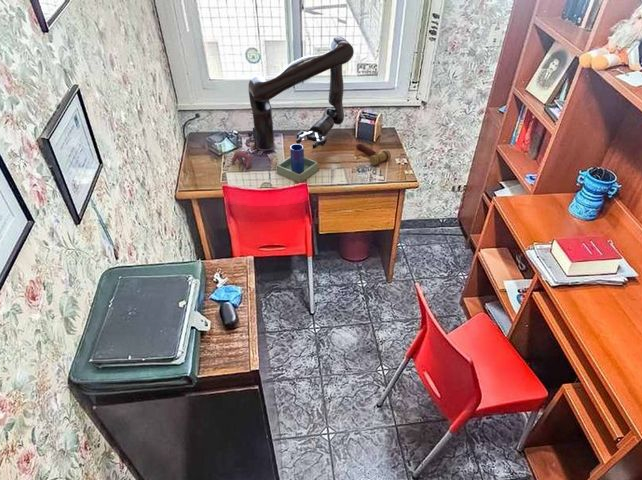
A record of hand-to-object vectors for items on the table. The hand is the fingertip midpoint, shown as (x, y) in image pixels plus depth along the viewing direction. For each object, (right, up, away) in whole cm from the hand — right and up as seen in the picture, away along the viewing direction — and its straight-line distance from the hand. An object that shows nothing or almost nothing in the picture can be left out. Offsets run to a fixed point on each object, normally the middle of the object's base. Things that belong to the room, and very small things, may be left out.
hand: (305, 144), depth 220 cm
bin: (-4, -12, +2) cm, 13 cm away
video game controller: (-31, -8, +5) cm, 32 cm away
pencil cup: (-4, -12, +1) cm, 12 cm away
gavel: (+31, 0, +14) cm, 34 cm away
